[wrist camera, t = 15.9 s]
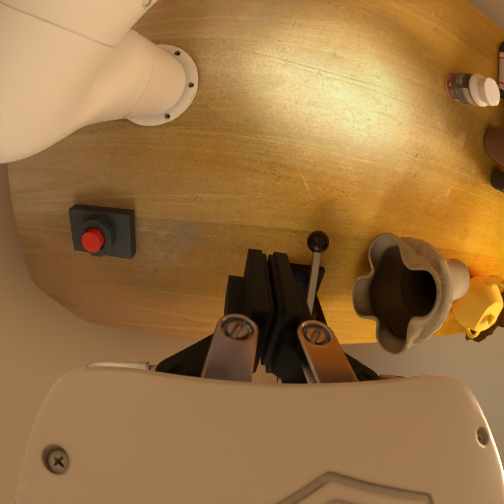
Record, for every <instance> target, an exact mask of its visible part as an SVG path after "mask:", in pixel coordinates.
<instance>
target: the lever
mask: <svg viewBox="0 0 504 504" xmlns="http://www.w3.org/2000/svg"><path fill="white" fill-rule="evenodd" d="M307 246H308V248H309V249H310V250H311V251H312V259H311V266H310V273H309V280H308V287H307V293H306V300H307V303H308V306H309V310H310V313H311V315H312V309H313V304H314V298H315V291H316V285H317V278H318V272H319V265H320V257H321V253H323V252H324V251H326V250H327V248H328V246H329V238H328V236H327V235H326V234H325V233H324V232H322V231H314V232H312V233H311V234H310V235H309V236H308V238H307ZM312 320H314V321H316V320H315V319H314V318H312Z"/></svg>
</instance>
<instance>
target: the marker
mask: <svg viewBox="0 0 504 504" xmlns="http://www.w3.org/2000/svg"><path fill="white" fill-rule="evenodd" d="M498 88H499V92H500V98H502V99H504V42H502V43H501V47H500V53H499V79H498Z"/></svg>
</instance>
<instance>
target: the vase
mask: <svg viewBox="0 0 504 504" xmlns="http://www.w3.org/2000/svg"><path fill="white" fill-rule="evenodd" d="M368 258H369V262H370V266H371V269H372V271H371V272H369V273H367V274H364V275H361V276H359V277H358V278H357V279H356V280H355V282H354V286H353V306H354V310H355V312H356V314H357V315H358V316H359V317H361V318H364V319H370V320H374V321H376V322H377V327H376V338H377V341H378V343H379V345H380V346H381V348H382V349H383V350H384V351H386V352H387V353H389V354H392V355H401V354H403V353H404V352H405V351H406V350H407V349H408V348H409V347H410V346H411V345H412V344H418V343H420V342H423V341H425V340H427V339H428V338H430V337H431V336H432V335H433V334H435V333H436V332H437V331H438V330H439V328H440V327H441V326H442V325H443V323H444V322H445V320H446V318H447V316H448V314H449V312H450V309H451V306H452V302H453V300H456V299H459V298H461V297H463V296H464V295H465V294H466V293H467V291H468V289H469V285H470V275H469V272H468V269H467V267H466V266H465V264H463V263H462V262H461V261H459V260H457V259H450V260H448V261H445V259H444V258H443V257H442V255H441V254H440V253H439V252H438V251H437V250H436V249H435V248H434V247H432V246H431V245H430V244H428V243H426V242H424V241H422V240H419V239H416V238H410V237H403V238H398V237H397V236H395V235H394V234H391V233H383V234H381V235H379V236H377V237H376V238H375V239H374V240H373V241H372V243H371V245H370V247H369V251H368Z"/></svg>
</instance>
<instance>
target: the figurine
mask: <svg viewBox="0 0 504 504" xmlns="http://www.w3.org/2000/svg"><path fill="white" fill-rule="evenodd" d="M500 294H501V297H502V300H503V308H502V310H501V312H500V314H499V315H498V317H497V320H496V322H495V323H494V324H493V325H492V326H490V327H489V328H487V329H486V330H483V331H480V333H479V335H478V336H477V337H475V338H469V337H468V335H467V333H466V340H469V339H473V340H474V341H476V342H480V341H482V340H483V339H485V338H486V337H487V336H488V335H491V334H492V333H493V331H494V330H495V329H496V327H498V326H501V327H504V292H503V293H501V292H500ZM470 332H471V334H472V335H474V334H475V332H476V331H473V330H471V329H470Z"/></svg>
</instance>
